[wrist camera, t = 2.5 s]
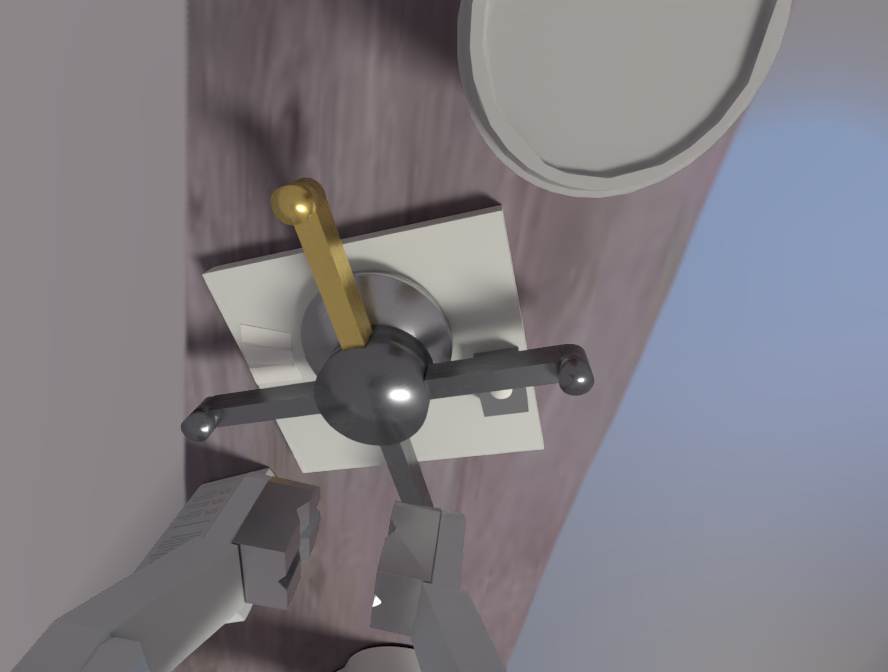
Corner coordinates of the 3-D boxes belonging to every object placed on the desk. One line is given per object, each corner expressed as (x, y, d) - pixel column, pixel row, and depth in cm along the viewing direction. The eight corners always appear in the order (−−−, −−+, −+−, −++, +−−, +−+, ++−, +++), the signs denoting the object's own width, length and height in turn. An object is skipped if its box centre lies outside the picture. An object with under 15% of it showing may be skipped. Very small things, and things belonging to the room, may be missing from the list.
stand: (542, 435, 35) (546, 469, 32) (309, 460, 39) (292, 492, 36) (502, 204, 27) (502, 219, 24) (214, 266, 31) (181, 286, 28)
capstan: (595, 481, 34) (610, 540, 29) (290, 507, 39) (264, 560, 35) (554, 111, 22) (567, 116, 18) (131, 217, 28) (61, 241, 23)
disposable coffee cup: (452, -16, 22) (408, -113, 12) (657, -98, 20) (833, -310, 9) (497, 179, 26) (495, 237, 16) (672, 128, 24) (805, 157, 13)
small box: (233, 521, 44) (163, 634, 35) (200, 481, 42) (116, 591, 33) (301, 507, 42) (246, 624, 33) (270, 465, 40) (201, 577, 31)
